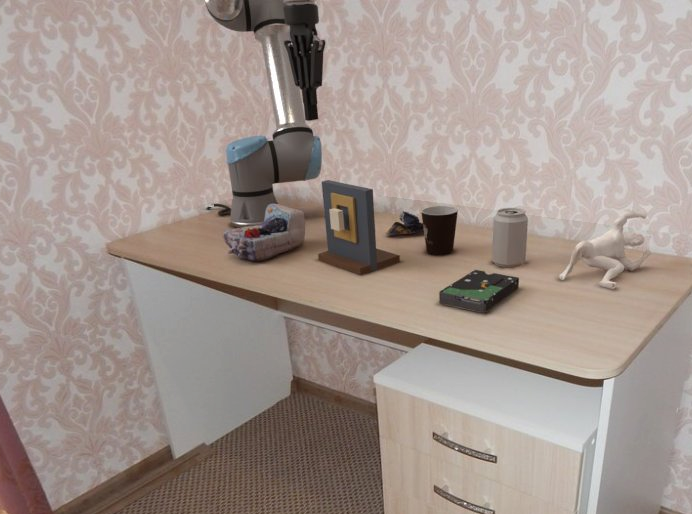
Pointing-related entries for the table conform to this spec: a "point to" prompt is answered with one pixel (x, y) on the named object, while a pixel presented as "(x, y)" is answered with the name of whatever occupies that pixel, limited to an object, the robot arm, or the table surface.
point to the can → (509, 237)
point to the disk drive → (479, 291)
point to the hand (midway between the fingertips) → (311, 119)
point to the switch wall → (353, 230)
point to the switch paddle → (336, 219)
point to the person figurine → (609, 251)
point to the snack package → (406, 225)
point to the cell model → (268, 234)
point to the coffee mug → (439, 229)
